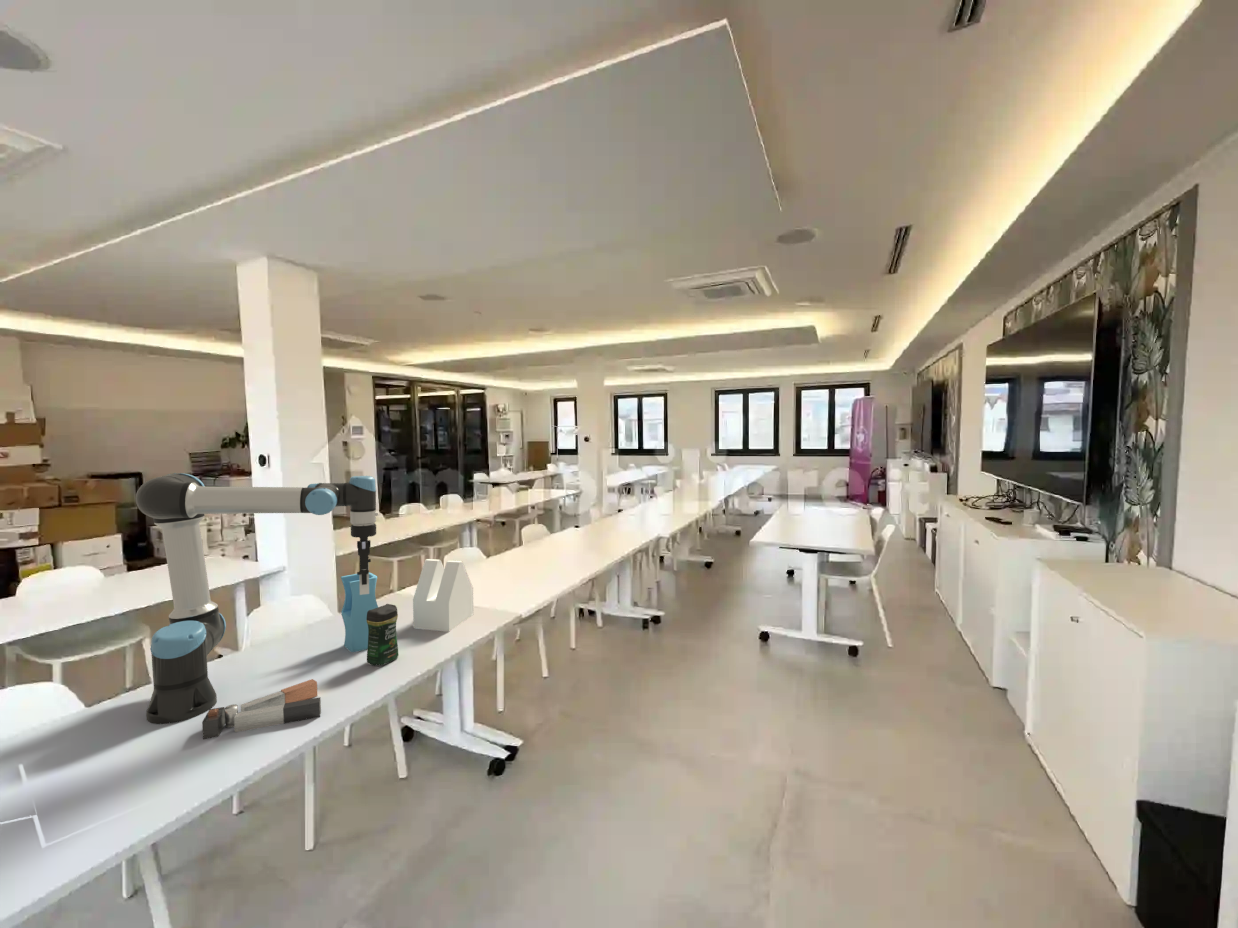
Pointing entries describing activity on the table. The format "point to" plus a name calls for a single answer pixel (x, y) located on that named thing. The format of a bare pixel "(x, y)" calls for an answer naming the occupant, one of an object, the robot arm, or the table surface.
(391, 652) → the coffee jar
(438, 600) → the white slotted block
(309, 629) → the table surface
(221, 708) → the tongs fixed
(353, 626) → the vase
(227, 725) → the tongs arm
